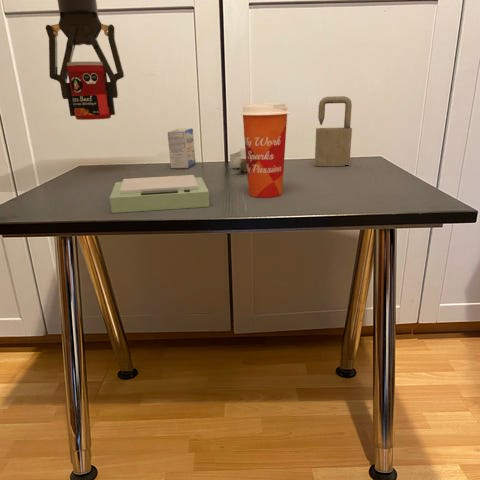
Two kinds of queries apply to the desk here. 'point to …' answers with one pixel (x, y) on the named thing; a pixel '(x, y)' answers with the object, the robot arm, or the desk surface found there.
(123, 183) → the scale
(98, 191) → the desk surface
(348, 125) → the padlock
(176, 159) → the medicine box
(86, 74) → the canned food
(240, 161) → the bunny figurine
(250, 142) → the coffee cup
